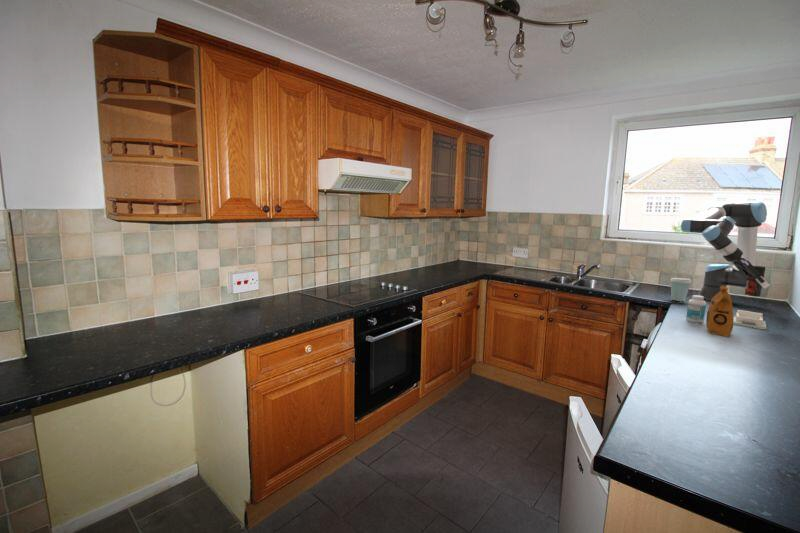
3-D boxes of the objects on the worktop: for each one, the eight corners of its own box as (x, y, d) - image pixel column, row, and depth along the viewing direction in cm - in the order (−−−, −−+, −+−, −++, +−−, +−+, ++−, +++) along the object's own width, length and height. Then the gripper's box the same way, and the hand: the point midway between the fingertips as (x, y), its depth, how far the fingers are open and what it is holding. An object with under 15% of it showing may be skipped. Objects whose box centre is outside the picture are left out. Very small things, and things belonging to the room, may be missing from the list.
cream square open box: (731, 318, 207) (733, 309, 206) (764, 323, 198) (766, 313, 198) (731, 323, 197) (732, 314, 196) (766, 329, 188) (767, 319, 187)
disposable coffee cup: (663, 299, 246) (666, 276, 244) (676, 298, 249) (679, 276, 247) (680, 303, 236) (683, 280, 234) (692, 302, 239) (696, 279, 237)
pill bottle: (697, 319, 203) (701, 294, 201) (707, 323, 196) (711, 298, 194) (682, 318, 204) (686, 294, 202) (691, 322, 197) (695, 297, 195)
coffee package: (703, 333, 181) (711, 287, 177) (704, 327, 190) (711, 283, 187) (731, 338, 175) (739, 291, 171) (731, 331, 184) (738, 287, 181)
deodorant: (763, 296, 194) (768, 267, 192) (751, 296, 194) (756, 267, 192) (753, 294, 200) (758, 265, 197) (741, 293, 200) (746, 265, 198)
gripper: (713, 254, 207) (745, 286, 205) (732, 258, 189) (767, 294, 187) (727, 245, 205) (759, 277, 203) (747, 248, 187) (782, 284, 185)
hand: (762, 285), depth 195 cm, fingers closed on deodorant, 6 cm apart
